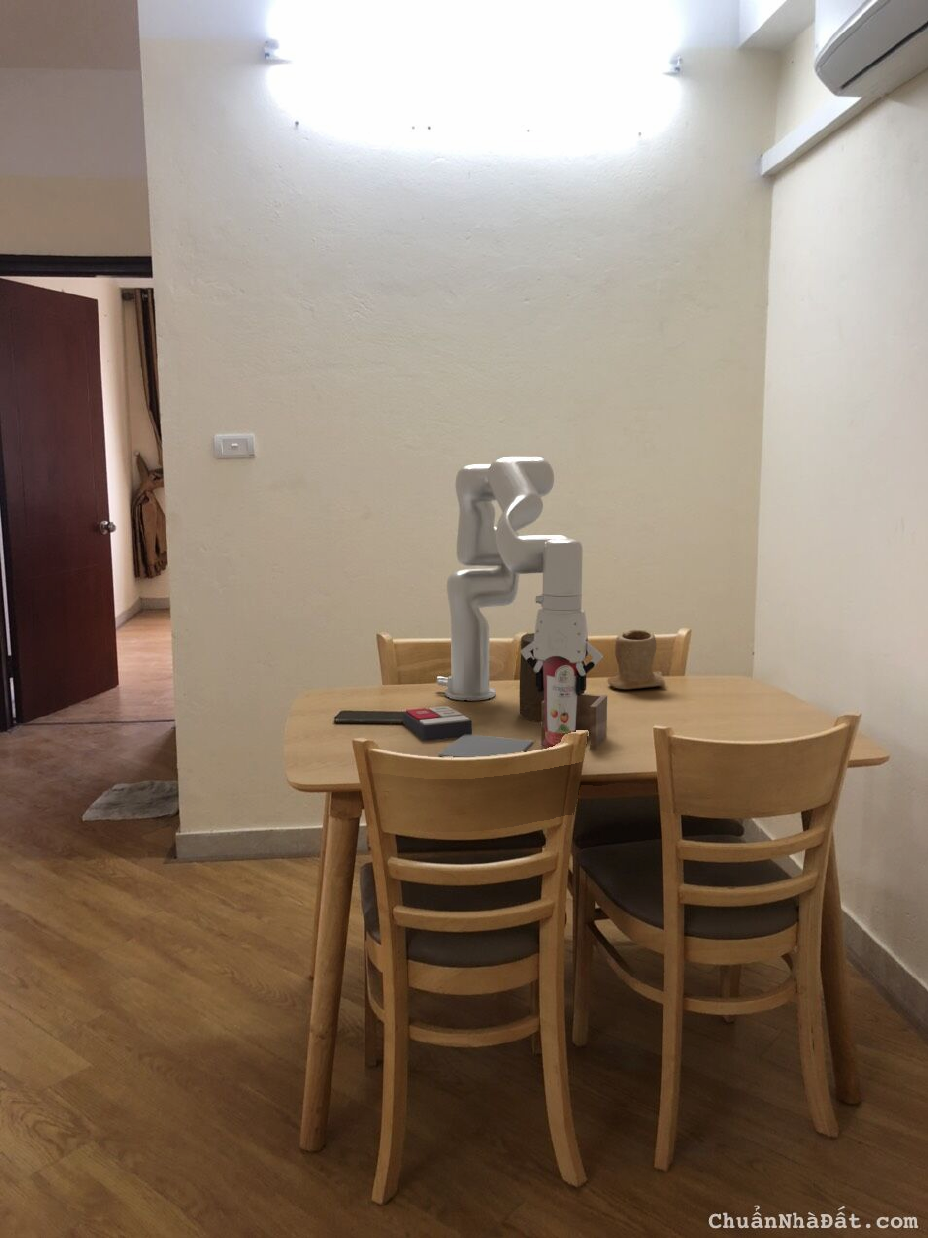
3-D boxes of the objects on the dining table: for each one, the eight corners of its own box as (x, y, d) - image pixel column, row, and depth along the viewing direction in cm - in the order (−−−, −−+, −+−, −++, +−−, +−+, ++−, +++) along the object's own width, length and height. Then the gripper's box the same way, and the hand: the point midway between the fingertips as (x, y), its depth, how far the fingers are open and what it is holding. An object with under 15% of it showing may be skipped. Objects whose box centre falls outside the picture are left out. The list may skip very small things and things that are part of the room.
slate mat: (438, 756, 191) (438, 753, 191) (465, 736, 205) (465, 733, 204) (510, 764, 185) (510, 761, 185) (532, 743, 199) (532, 740, 199)
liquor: (546, 756, 187) (547, 614, 182) (537, 744, 194) (538, 608, 189) (583, 754, 188) (585, 613, 183) (573, 742, 195) (575, 606, 190)
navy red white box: (448, 704, 219) (472, 717, 205) (449, 722, 219) (472, 736, 205) (402, 708, 215) (423, 722, 201) (403, 727, 215) (423, 742, 201)
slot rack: (541, 744, 199) (541, 702, 197) (554, 731, 208) (554, 690, 207) (595, 750, 195) (596, 706, 193) (606, 736, 204) (607, 695, 203)
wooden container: (588, 709, 227) (589, 617, 223) (578, 725, 213) (580, 627, 209) (526, 705, 231) (527, 614, 227) (513, 721, 217) (513, 624, 213)
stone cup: (620, 695, 240) (621, 636, 238) (602, 684, 251) (603, 628, 249) (676, 691, 244) (678, 633, 241) (655, 681, 255) (657, 625, 253)
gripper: (513, 603, 186) (512, 693, 189) (602, 608, 180) (600, 700, 183) (524, 598, 192) (523, 684, 195) (610, 602, 186) (608, 691, 189)
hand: (560, 691), depth 189 cm, fingers closed on liquor, 7 cm apart
